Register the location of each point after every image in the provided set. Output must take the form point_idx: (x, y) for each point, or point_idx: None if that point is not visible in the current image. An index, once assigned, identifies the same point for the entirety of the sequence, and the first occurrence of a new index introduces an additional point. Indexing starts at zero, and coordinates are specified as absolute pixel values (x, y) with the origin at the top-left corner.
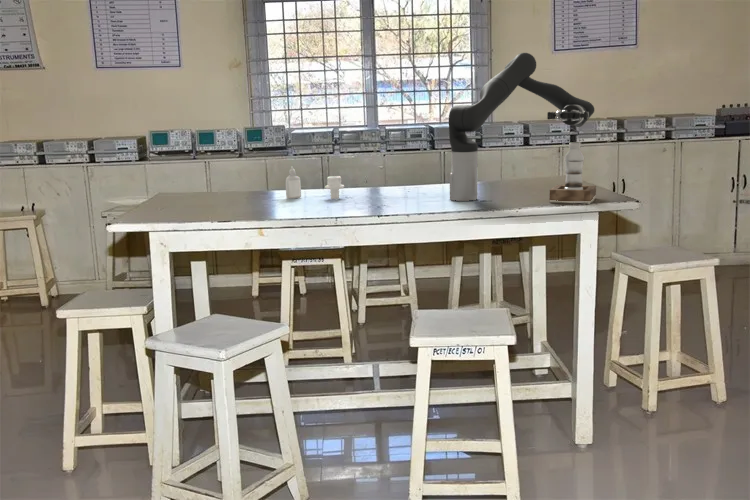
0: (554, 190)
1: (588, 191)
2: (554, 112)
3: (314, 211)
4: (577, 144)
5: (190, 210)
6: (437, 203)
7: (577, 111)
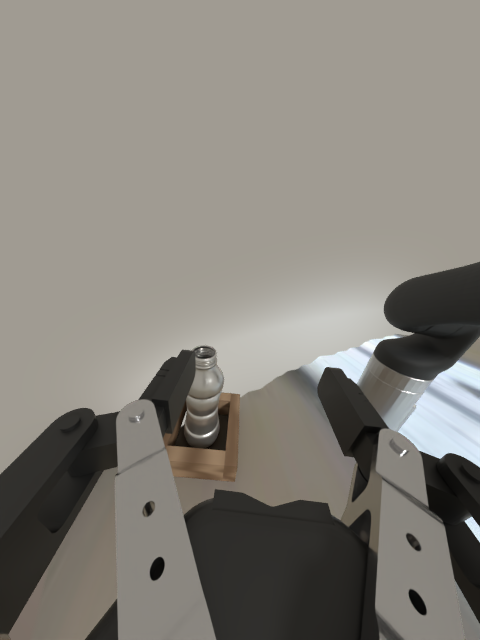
0: (232, 394)
1: None
2: (381, 432)
3: None
4: (198, 349)
5: (474, 347)
6: None
7: (147, 459)
